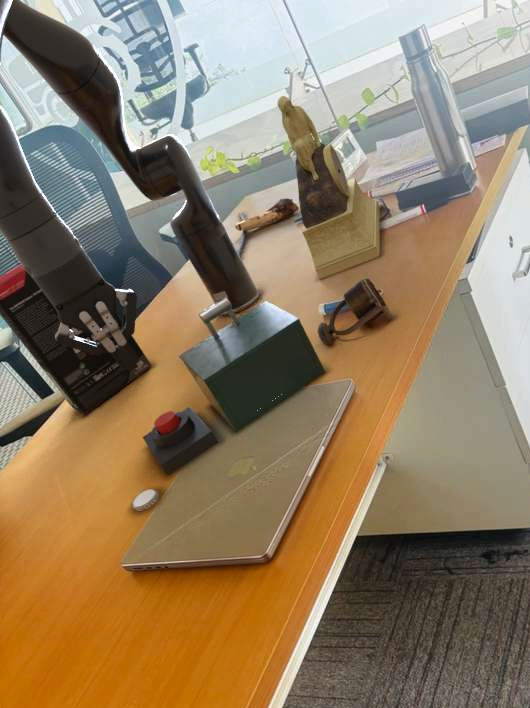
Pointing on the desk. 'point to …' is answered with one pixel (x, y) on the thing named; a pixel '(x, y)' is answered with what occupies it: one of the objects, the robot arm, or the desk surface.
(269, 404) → the dark green open box
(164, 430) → the button
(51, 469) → the desk surface
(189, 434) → the switch block
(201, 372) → the lid
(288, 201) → the bone fish hook
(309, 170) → the decorative clock
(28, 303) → the graphics card box
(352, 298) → the brown handled cylinder
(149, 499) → the bottle cap
